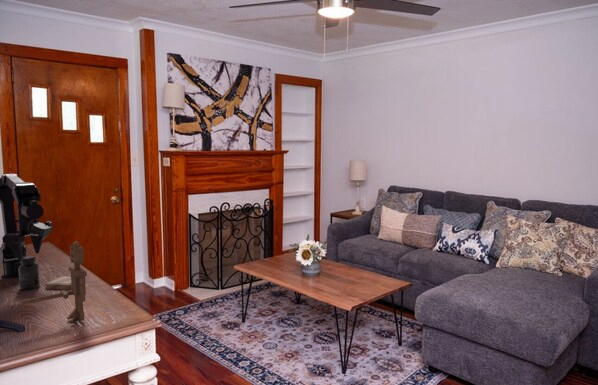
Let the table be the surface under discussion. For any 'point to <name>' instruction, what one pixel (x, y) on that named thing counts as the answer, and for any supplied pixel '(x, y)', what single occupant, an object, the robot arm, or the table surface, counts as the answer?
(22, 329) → the table surface
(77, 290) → the wooden figure
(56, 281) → the beige flat block
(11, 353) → the table surface
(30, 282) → the supplement bottle
